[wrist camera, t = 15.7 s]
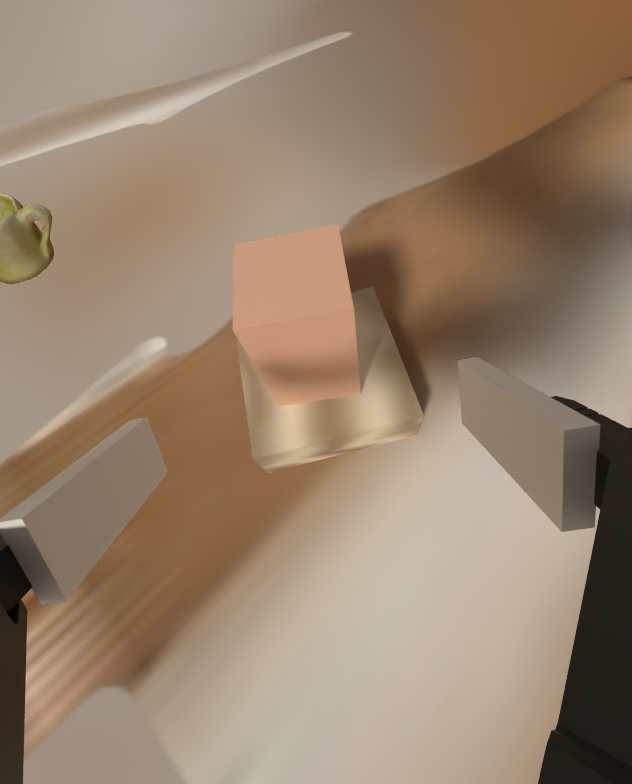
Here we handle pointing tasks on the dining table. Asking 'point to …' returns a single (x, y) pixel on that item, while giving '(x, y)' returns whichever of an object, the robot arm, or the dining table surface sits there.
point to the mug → (23, 240)
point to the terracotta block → (297, 315)
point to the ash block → (336, 402)
